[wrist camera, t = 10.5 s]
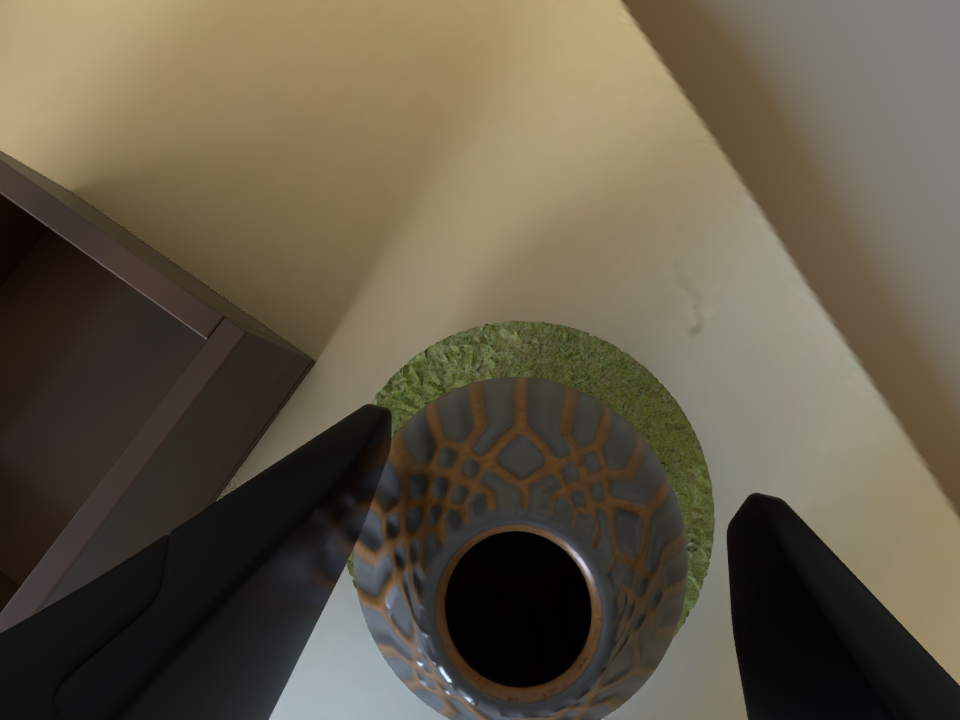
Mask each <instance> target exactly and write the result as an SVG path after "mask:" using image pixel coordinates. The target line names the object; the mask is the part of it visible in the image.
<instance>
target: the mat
mask: <svg viewBox="0 0 960 720" xmlns="http://www.w3.org/2000/svg"><path fill="white" fill-rule="evenodd" d="M500 377H532V378H540V379H546V380H550V381H555V382H558V383H562V384H565V385H568V386H570V387H573V388H576V389H578V390H580V391H583V392H585V393H587V394H589V395H591V396H593V397H594V398H596V399H598V400H600V401H601V402H603V403H604V404H606V405H607V406H609V407H610V408H612V409H613V410H614V411H616V412H617V413H618V414H619V415H621V416H622V417H623V418H624V419H625V420H626V421H627V422H629V423H630V424H631V425H632V426H633V427H634V429H635V430H636V431H637V432H638V433H639V434H640V435H641V436H642V437H643V439H644V440H645V441H646V442H647V444H648V445H649V446H650V448H651V449H652V451H653V452H654V453H655V455H656V456H657V458H658V460H659V461H660V463H661V465H662V466H663V468H664V470H665V472H666V474H667V476H668V478H669V480H670V482H671V484H672V487H673V489H674V492H675V494H676V497H677V500H678V503H679V506H680V510H681V514H682V518H683V522H684V527H685V533H686V539H687V550H688V575H687V587H686V594H685V600H684V605H683V609H682V613H681V617H680V620H679V623H678V626H677V629H676V631H675V634H674V636H675V635H676V634H677V633H678V630H679V628H680V627H681V626H682V625H683V624H684V623H685V619H686V617H687V616H688V614H689V611H690V610H691V609H692V608H693V607H694V605H695V603H696V601H697V599H698V596H699V590H701V588H702V584H703V579H704V578H705V577H706V575H707V569H708V567H709V564H710V562H709V559H710V557H711V547H712V544H713V532H714V517H713V515H714V504H713V497H712V485H711V480H710V476H709V473H708V467H707V464H706V462H705V459H704V455H703V452H702V448H701V446H700V443H699V441H698V439H697V437H696V434H695V432H694V430H693V429H692V427H691V424H690V422H689V421H688V420H687V418H686V416H685V414H684V412H683V411H682V409H681V408H680V406H679V405H678V403H677V402H676V400H675V399H674V398H673V397H672V396H671V394H670V393H669V392H668V391H667V389H666V388H665V387H664V386H663V384H661V383H659V381H658V379H657V378H655V377H654V376H653V375H652V374H651V373H650V372H649V371H648V370H647V369H646V368H645V367H644V366H642V365H641V364H639V363H638V362H637V361H636V360H635V359H634V358H633V357H631V356H630V355H628V354H627V353H625V352H621V351H620V350H619V349H618V348H617V347H615V346H613V345H611V344H609V343H608V342H606V341H603V340H601V339H599V338H597V337H596V336H590V335H589V333H586V332H583V331H580V330H577V329H574V328H569V327H566V326H561V325H553V324H549V323H544V322H529V323H527V322H524V321H521V322H519V321H511V322H505V323H502V324H497V323H495V324H493V325H488V324H486V325H485V326H484V327H483V328H481V327H475V328H471V329H469V330H467V331H464V332H459V333H458V334H456V335H453V336H449V337H447V338H445V339H443V340H442V341H440V342H437V343H436V344H435V345H432V346H429V347H428V348H427V349H426V350H425V351H424V352H422V353H420V354H418V355H417V356H415V357H414V358H413V359H411V360H410V361H409V364H407V365H404V367H402V368H401V369H400V371H399V372H398V373H396V374H395V375H394V376H393V377H392V378H391V379H390V380H389V381H388V383H387V384H386V385H385V386H384V387H383V388H382V390H381V391H380V392H379V393H378V394H377V395H376V397H375V399H374V401H373V403H372V404H373V405H377V406H382V407H386V408H389V409H390V410H391V413H392V434H391V439H392V438H393V436H394V435H395V434H396V432H397V431H398V430H399V429H400V428H401V427H402V426H403V425H404V424H405V423H406V422H407V421H408V420H409V419H410V418H411V417H412V416H413V415H414V414H416V413H417V412H418V411H419V410H421V409H422V408H423V407H425V406H426V405H427V404H429V403H430V402H432V401H433V400H435V399H437V398H438V397H440V396H442V395H444V394H446V393H448V392H450V391H452V390H454V389H457V388H459V387H462V386H465V385H467V384H470V383H474V382H478V381H481V380H486V379H492V378H500ZM346 564H347V566H348V570H349V573H350V575H351V576H353V577H354V578H353V580H352V581H353V583H354V586H355V588H356V589H357V587H356V580H355V571H354V548H353V551H352V553H351V555H350V557H349V559H348V561H347V563H346ZM674 636H673V637H674Z"/></svg>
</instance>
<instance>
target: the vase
mask: <svg viewBox="0 0 960 720" xmlns="http://www.w3.org/2000/svg"><path fill="white" fill-rule="evenodd" d="M354 571H355V580H356V587H357V592H358V597H359V601H360V605H361V608H362V612H363V615H364V617H365V620H366V623H367V626H368V628H369V630H370V632H371V635H372V637H373V639H374V641H375V643H376V644H377V646H378V648H379V650H380V652H381V653H382V655H383V657H384V658H385V660H386V661H387V663H388V664H389V666H390V667H391V668H392V670H393V671H394V672H395V674H396V675H397V676H398V677H399V678H400V680H401V681H402V682H403V683H404V684H405V685H406V686H407V687H408V688H409V689H410V690H411V691H412V692H413V693H414V694H415V695H416V696H417V697H418V698H420V699H421V700H422V701H423V702H424V703H426V704H427V705H428V706H430V707H431V708H433V709H434V710H436V711H437V712H438V713H440V714H442V715H444V716H445V717H447V718H449V719H451V720H600V719H601V718H603V717H605V716H607V715H608V714H610V713H611V712H613V711H614V710H616V709H617V708H619V707H620V706H621V705H622V704H624V703H625V702H626V701H627V700H629V699H630V698H631V697H632V696H633V695H634V694H635V693H636V692H637V691H638V690H639V689H640V688H641V687H642V686H643V684H644V683H645V682H646V681H647V680H648V679H649V677H650V676H651V675H652V673H653V672H654V671H655V669H656V668H657V666H658V665H659V663H660V661H661V660H662V658H663V656H664V655H665V653H666V651H667V649H668V647H669V645H670V643H671V641H672V639H673V636H674V634H675V631H676V629H677V626H678V623H679V620H680V617H681V613H682V609H683V605H684V600H685V594H686V587H687V575H688V550H687V539H686V533H685V527H684V522H683V518H682V514H681V510H680V506H679V503H678V500H677V497H676V494H675V492H674V489H673V487H672V484H671V482H670V480H669V478H668V476H667V474H666V472H665V470H664V468H663V466H662V465H661V463H660V461H659V460H658V458H657V456H656V455H655V453H654V452H653V451H652V449H651V448H650V446H649V445H648V444H647V442H646V441H645V440H644V439H643V437H642V436H641V435H640V434H639V433H638V432H637V431H636V430H635V429H634V427H633V426H632V425H631V424H630V423H629V422H627V421H626V420H625V419H624V418H623V417H622V416H621V415H619V414H618V413H617V412H616V411H614V410H613V409H612V408H610V407H609V406H607V405H606V404H604V403H603V402H601V401H600V400H598V399H596V398H594V397H593V396H591V395H589V394H587V393H585V392H583V391H580V390H578V389H576V388H573V387H570V386H568V385H565V384H562V383H558V382H555V381H550V380H546V379H540V378H532V377H500V378H492V379H486V380H481V381H478V382H474V383H470V384H467V385H465V386H462V387H459V388H457V389H454V390H452V391H450V392H448V393H446V394H444V395H442V396H440V397H438V398H437V399H435V400H433V401H432V402H430V403H429V404H427V405H426V406H425V407H423V408H422V409H421V410H419V411H418V412H417V413H416V414H414V415H413V416H412V417H411V418H410V419H409V420H408V421H407V422H406V423H405V424H404V425H403V426H402V427H401V428H400V429H399V430H398V431H397V432H396V434H395V435H394V436H393V438H392V439H391V448H390V452H389V456H388V459H387V461H386V464H385V467H384V470H383V473H382V475H381V478H380V481H379V484H378V486H377V489H376V492H375V495H374V497H373V500H372V503H371V506H370V509H369V511H368V514H367V517H366V520H365V522H364V525H363V528H362V530H361V533H360V535H359V538H358V540H357V542H356V544H355V546H354Z"/></svg>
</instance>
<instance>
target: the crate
mask: <svg viewBox="0 0 960 720" xmlns="http://www.w3.org/2000/svg"><path fill="white" fill-rule="evenodd" d="M315 362H316V361H315V360H313V359H312V358H311V357H309V356H308V355H306V354H305V353H303V352H302V351H300V350H299V349H298V348H296V347H295V346H293V345H292V344H290V343H289V342H287V341H286V340H285V339H283V338H282V337H280V336H279V335H277V334H276V333H274V332H273V331H272V330H270V329H269V328H267V327H266V326H264V325H263V324H261V323H260V322H259V321H257V320H256V319H254V318H253V317H251V316H250V315H248V314H247V313H246V312H244V311H243V310H241V309H240V308H238V307H237V306H235V305H234V304H233V303H231V302H230V301H228V300H227V299H225V298H224V297H222V296H221V295H219V294H218V293H217V292H215V291H214V290H212V289H211V288H209V287H208V286H206V285H205V284H204V283H202V282H201V281H199V280H198V279H196V278H195V277H193V276H192V275H191V274H189V273H188V272H186V271H185V270H183V269H182V268H180V267H179V266H178V265H176V264H175V263H173V262H172V261H170V260H169V259H167V258H166V257H165V256H163V255H162V254H160V253H159V252H157V251H156V250H154V249H153V248H152V247H150V246H149V245H147V244H146V243H144V242H143V241H141V240H140V239H139V238H137V237H136V236H134V235H133V234H131V233H130V232H128V231H127V230H126V229H124V228H123V227H121V226H120V225H118V224H117V223H115V222H114V221H113V220H111V219H110V218H108V217H107V216H105V215H104V214H102V213H101V212H100V211H98V210H97V209H95V208H94V207H92V206H91V205H89V204H88V203H87V202H85V201H84V200H82V199H81V198H79V197H78V196H76V195H75V194H74V193H72V192H71V191H69V190H68V189H66V188H64V187H62V186H61V185H59V184H57V183H56V182H54V181H52V180H50V179H49V178H47V177H45V176H44V175H42V174H40V173H38V172H37V171H35V170H33V169H31V168H30V167H28V166H26V165H25V164H23V163H21V162H19V161H18V160H16V159H14V158H12V157H11V156H9V155H7V154H6V153H4V152H2V151H0V633H2V632H3V631H5V630H7V629H9V628H11V627H12V626H14V625H16V624H18V623H20V622H21V621H23V620H25V619H27V618H29V617H30V616H32V615H34V614H36V613H38V612H39V611H41V610H43V609H45V608H46V607H48V606H50V605H51V604H53V603H55V602H57V601H58V600H60V599H62V598H64V597H65V596H67V595H69V594H71V593H72V592H74V591H76V590H78V589H79V588H81V587H83V586H84V585H86V584H88V583H90V582H91V581H93V580H95V579H96V578H98V577H99V576H101V575H103V574H104V573H106V572H107V571H109V570H111V569H112V568H114V567H115V566H117V565H119V564H120V563H122V562H123V561H125V560H127V559H128V558H130V557H131V556H133V555H135V554H136V553H138V552H139V551H141V550H142V549H144V548H146V547H147V546H149V545H150V544H152V543H153V542H155V541H156V540H158V539H159V538H161V537H162V536H164V535H169V536H170V533H171V531H172V530H174V529H175V528H177V527H178V526H180V525H181V524H183V523H184V522H186V521H187V520H189V519H190V518H192V517H194V516H195V515H197V514H198V513H200V512H201V511H203V510H204V509H206V508H207V507H209V506H210V505H212V504H213V503H214V502H215V501H216V499H217V498H218V496H219V495H220V494H221V492H222V491H223V489H224V488H225V487H226V485H227V484H228V483H229V481H230V480H231V478H232V477H233V476H234V474H235V473H236V471H237V470H238V469H239V467H240V466H241V465H242V463H243V462H244V460H245V459H246V458H247V456H248V455H249V453H250V452H251V451H252V449H253V448H254V447H255V445H256V444H257V442H258V441H259V440H260V438H261V437H262V436H263V434H264V433H265V431H266V430H267V429H268V427H269V426H270V424H271V423H272V422H273V420H274V419H275V418H276V416H277V415H278V413H279V412H280V411H281V409H282V408H283V406H284V405H285V404H286V402H287V401H288V400H289V398H290V397H291V395H292V394H293V393H294V391H295V390H296V388H297V387H298V386H299V384H300V383H301V382H302V380H303V379H304V377H305V376H306V375H307V373H308V372H309V371H310V369H311V368H312V366H313V365H314V364H315Z"/></svg>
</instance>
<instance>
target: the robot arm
mask: <svg viewBox="0 0 960 720" xmlns="http://www.w3.org/2000/svg"><path fill="white" fill-rule="evenodd" d="M391 434H392V413H391V410H390V409H389V408H386V407H382V406H377V405H373V404H367V405H364V406H363V407H361V408H359V409H358V410H356V411H355V412H353V413H352V414H350V415H349V416H347V417H346V418H344V419H343V420H341V421H340V422H338V423H336V424H335V425H333V426H332V427H330V428H329V429H327V430H326V431H324V432H323V433H321V434H320V435H318V436H316V437H315V438H313V439H312V440H310V441H309V442H307V443H306V444H304V445H303V446H301V447H300V448H298V449H296V450H295V451H293V452H292V453H290V454H289V455H287V456H286V457H284V458H283V459H281V460H280V461H278V462H277V463H275V464H273V465H272V466H270V467H269V468H267V469H266V470H264V471H263V472H261V473H260V474H258V475H257V476H255V477H253V478H252V479H250V480H249V481H247V482H246V483H244V484H243V485H241V486H240V487H238V488H237V489H235V490H234V491H232V492H230V493H229V494H227V495H226V496H224V497H223V498H221V499H220V500H218V501H217V502H215V503H214V504H212V505H210V506H209V507H207V508H206V509H204V510H203V511H201V512H200V513H198V514H197V515H195V516H194V517H192V518H190V519H189V520H187V521H186V522H184V523H183V524H181V525H180V526H178V527H177V528H175V529H174V530H172V531H171V533H170V536H169V535H164V536H162V537H161V538H159V539H158V540H156V541H155V542H153V543H152V544H150V545H149V546H147V547H146V548H144V549H142V550H141V551H139V552H138V553H136V554H135V555H133V556H131V557H130V558H128V559H127V560H125V561H123V562H122V563H120V564H119V565H117V566H115V567H114V568H112V569H111V570H109V571H107V572H106V573H104V574H103V575H101V576H99V577H98V578H96V579H95V580H93V581H91V582H90V583H88V584H86V585H84V586H83V587H81V588H79V589H78V590H76V591H74V592H72V593H71V594H69V595H67V596H65V597H64V598H62V599H60V600H58V601H57V602H55V603H53V604H51V605H50V606H48V607H46V608H45V609H43V610H41V611H39V612H38V613H36V614H34V615H32V616H30V617H29V618H27V619H25V620H23V621H21V622H20V623H18V624H16V625H14V626H12V627H11V628H9V629H7V630H5V631H3V632H2V633H0V720H269V718H270V716H271V714H272V712H273V710H274V708H275V706H276V704H277V702H278V700H279V698H280V696H281V694H282V692H283V690H284V688H285V686H286V684H287V682H288V679H289V677H290V675H291V673H292V671H293V669H294V667H295V665H296V663H297V661H298V659H299V657H300V655H301V653H302V651H303V649H304V647H305V645H306V643H307V641H308V639H309V637H310V635H311V633H312V631H313V629H314V627H315V625H316V623H317V621H318V619H319V617H320V615H321V613H322V611H323V609H324V607H325V605H326V603H327V601H328V599H329V597H330V595H331V593H332V591H333V589H334V587H335V585H336V583H337V581H338V579H339V577H340V575H341V573H342V571H343V569H344V567H345V565H346V563H347V561H348V559H349V557H350V555H351V553H352V551H353V548H354V546H355V544H356V542H357V540H358V538H359V535H360V533H361V530H362V528H363V525H364V522H365V520H366V517H367V514H368V511H369V509H370V506H371V503H372V500H373V497H374V495H375V492H376V489H377V486H378V484H379V481H380V478H381V475H382V473H383V470H384V467H385V464H386V461H387V459H388V456H389V452H390V448H391ZM727 550H728V566H729V582H730V598H731V614H732V625H733V634H734V641H735V647H736V653H737V659H738V664H739V670H740V676H741V682H742V687H743V693H744V699H745V704H746V710H747V716H748V720H960V686H959V685H958V684H957V683H956V681H955V680H954V679H953V678H952V677H951V676H950V675H949V674H948V673H947V672H946V671H945V670H944V669H943V668H942V667H941V666H940V665H939V664H938V662H937V661H936V660H935V659H934V658H933V657H932V656H931V655H930V654H929V653H928V652H927V651H926V650H925V649H924V648H923V647H922V646H921V645H920V643H919V642H918V641H917V640H916V639H915V638H914V637H913V636H912V635H911V634H910V633H909V632H908V631H907V630H906V629H905V628H904V627H903V626H902V625H901V623H900V622H899V621H898V620H897V619H896V618H895V617H894V616H893V615H892V614H891V613H890V612H889V611H888V610H887V609H886V608H885V607H884V606H883V604H882V603H881V602H880V601H879V600H878V599H877V598H876V597H875V596H874V595H873V594H872V593H871V592H870V591H869V590H868V589H867V588H866V587H865V585H864V584H863V583H862V582H861V581H860V580H859V579H858V578H857V577H856V576H855V575H854V574H853V573H852V572H851V571H850V570H849V569H848V568H847V566H846V565H845V564H844V563H843V562H842V561H841V560H840V559H839V558H838V557H837V556H836V555H835V554H834V553H833V552H832V551H831V550H830V549H829V548H828V546H827V545H826V544H825V543H824V542H823V541H822V540H821V539H820V538H819V537H818V536H817V535H816V534H815V533H814V532H813V531H812V530H811V529H810V527H809V526H808V525H807V524H806V523H805V522H804V521H803V520H802V519H801V518H800V517H799V516H798V515H797V514H796V513H795V512H794V511H793V510H792V508H791V507H790V506H789V505H788V504H787V503H786V502H785V501H783V500H782V499H780V498H778V497H774V496H769V495H765V494H761V493H753V494H751V495H749V496H748V498H747V499H746V500H745V502H744V503H743V504H742V506H741V507H740V509H739V510H738V511H737V513H736V514H735V516H734V517H733V518H732V520H731V521H730V523H729V526H728V529H727Z"/></svg>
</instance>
